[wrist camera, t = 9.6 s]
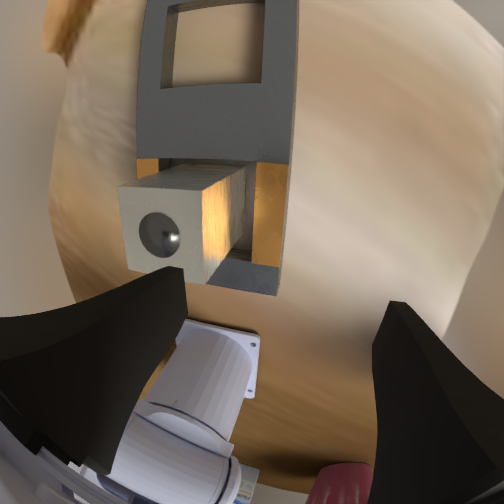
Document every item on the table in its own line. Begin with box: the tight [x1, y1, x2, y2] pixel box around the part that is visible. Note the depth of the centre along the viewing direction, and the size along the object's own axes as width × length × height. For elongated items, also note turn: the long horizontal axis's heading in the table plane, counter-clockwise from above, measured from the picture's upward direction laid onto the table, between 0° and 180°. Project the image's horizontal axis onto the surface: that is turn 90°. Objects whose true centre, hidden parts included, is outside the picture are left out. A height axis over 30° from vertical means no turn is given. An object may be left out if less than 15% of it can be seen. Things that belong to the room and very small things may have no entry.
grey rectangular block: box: [118, 164, 246, 285], centre depth 15 cm, size 4×4×7 cm
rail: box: [136, 0, 299, 296], centre depth 15 cm, size 22×10×2 cm, turn 177°
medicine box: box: [232, 463, 260, 504], centre depth 36 cm, size 8×4×9 cm, turn 156°
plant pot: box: [305, 462, 373, 504], centre depth 27 cm, size 14×14×13 cm
